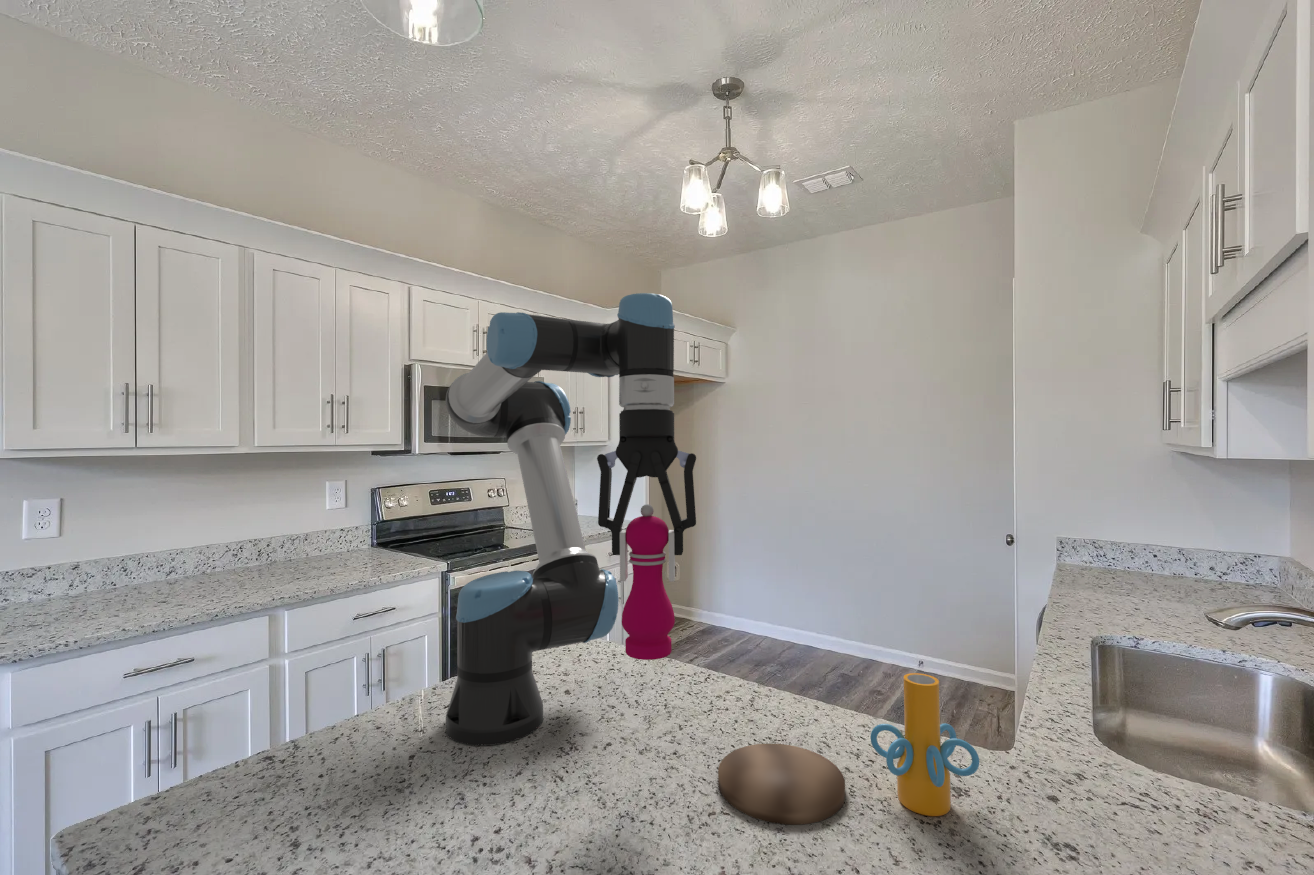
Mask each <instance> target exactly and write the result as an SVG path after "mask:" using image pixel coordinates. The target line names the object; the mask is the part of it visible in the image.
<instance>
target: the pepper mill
mask: <svg viewBox="0 0 1314 875" xmlns="http://www.w3.org/2000/svg"><path fill="white" fill-rule="evenodd" d="M654 512H655V510H654V507H653V506H652V505H650V504H643V505H642V506H641V507H640V514H641V516H638V517H635V518H634V519H632V520H631V521H630V522H629V523H628V524H627V527H626V529H625V530H626V542H627V544H628V548H630V550H631V551H630V552H629V553H628V555H629V556H630V557H629V560H628V562H629V563H630V564H631V565H632V585H631V589H630V591H629V595H628V597H627V599H626V601H625V602H624V606H623V610H622V614H621V625H622V628H623V630H625V632H626V634H627V635H628V636H627V637H626V638H625V643H624V645H625V654H626V655H627V656H628V657H630V658H632V659H636V660H642V661H653V660H660V659H663V658H666V657H668V656H670V654H671V653H672V650H673V649H672V648H673V647H672V638H671V637H670V635H669V634H670V632H672V630H673V628H674V627H675V622H676V618H675V612H674V609H673V608H674V607H673V605H672V602H671V600H670V598H669V596H668V593H667V591H666V589H665V584H664V582H663V581H664V579H663V567H664V566H663V565H664V563H666V562H667V559H666V555H667V552H666V551H664V549H665V547H666V546H667V545H668V544H669V530H670V529H669V527H668V525H667V523H666V522H665V521H664V520H663V519H661V518H660V517H658V516H653V514H654Z"/></svg>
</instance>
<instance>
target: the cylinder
mask: <svg viewBox="0 0 1314 875" xmlns="http://www.w3.org/2000/svg"><path fill="white" fill-rule="evenodd" d="M940 704H941V702H940V680H939V679H938V678H937V677H935V676H933V675H930V674H925V673H917V672H912V673H911V672H910V673H906V674H904V675H903V705H904V706H903V710H904V711H903V712H904V714H903V715H904V718H903V719H904V734H903V732H902V731H901V730H900V729H899V728H898V727H896V726H894V725H893V724H890V723H880V724H877V725H875V726H874V727H873V729H872V730H871V733H870V744H871V745H872V748H873V749H874V751H875V752H876V753H877V754H878V755H880V757H883V758H885V760H886V766H887V768H888V770H889V772H890V773H891V774H892V775H893V776H896V780H897V781H896V783H897V784H896V786H897V787H896V788H897V790H896V792H897V798H898V800H899V802H900V804H901V805H903V807H905V808H906V809H908V810H910V811H912V812H913V813H916V814H919V815H923V816H926V817H927V816H928V817H940V816H941V817H942V816H944V815H947V814H948V813H949V812H950V810H951V808H952V798H951V797H952V795H951V794H952V792H951V791H952V790H951V773H952V774H954V775H956V776H960V777H970V776H972V775H973V774H976V773H977V771H978V769H979V767H980V757H979V754H978V752H977V750H976V749H975V747H974V746H973V745H971V744H970V743H969V742H968V741H965V740H964V739H961V738H957V733H956V730H955V728H954V727H953V726H952V725H951V724H949V723H945V722H944V723H941V711H940V710H941V707H940ZM883 731H886V732H887V731H888V732H891V733H892V734H894V735H895V736H896V739H894V740H893V741H892V742H891V744H890V745H889V747H888V750H887V751H886V750H885V749H883V748H882V747H881V746H880V744H879V742H878V735H879V734H880V732H883ZM945 731H947V732H948V736H949V739H947V740H945V741H943V742H942V741H941V735H942V733H944V732H945ZM941 742H942V744H941ZM956 746H957V747H960V748H963V749H964V750H966V751H967V752H968V753H969V755H970V757H971V763H970V765H969V766H967V767H966V768H961V767H957V766H954V765H953V764H952V763H951V762H950V761H949V759H948V758H949V757H950V756H952V754H953V753H954V751H955V749H956ZM896 759H898V761H897V763H896V767H895V764H894V760H896ZM950 772H951V773H950Z"/></svg>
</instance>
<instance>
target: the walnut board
mask: <svg viewBox="0 0 1314 875" xmlns="http://www.w3.org/2000/svg"><path fill="white" fill-rule="evenodd" d="M717 769H718V771H717V776H718V777H717V783H718V789H719V791H720V794H721V795H722V797H723V798H724V799H725V800H726V802H727V803H728V804H730V805H731V807H733V808H735V810H738V811H739V812H741V813H743V814H745V815H746V816H748V817H751V818H753V819H757V820H759V821H763V822H767V823H772V824H778V825H790V826H792V825H793V826H794V825H795V826H798V825H800V826H801V825H810V824H815V823H818V822H823V821H825V820H827V819H829V818H831V817H833V816H834V815H835V814H837V813H838V812H839V811H840V810H841V809H842V808H843V807H844V804H845V802H846V781H845V778H844V777H845V776H844V775H843V773H842V771H841V770H840V768H838V766H837V765H836V764H835V763H833V762H832V761H831V760H830V759H828V758H826V757H824V756H823V755H821V754H819V753H817V752H814V751H813V750H809V749H806V748H803V747H800V746H796V745H789V744H783V743H782V744H781V743H756V744H749V745H746V746H743V747H740V748H737V749H734V750H733V751H731V752H729V753H728V754H727V755H725V756H724V757H723V759H721V761H720V763H719V765H718V768H717Z"/></svg>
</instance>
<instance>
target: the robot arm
mask: <svg viewBox="0 0 1314 875" xmlns="http://www.w3.org/2000/svg"><path fill="white" fill-rule="evenodd" d="M617 318H618V319H617V320H615V321H613V322H611V323H604V322H603V323H601V322H594V321H593V322H592V321H584V320H577V319H570V318H568V319H567V318H560V317H551V316H544V315H537V314H529V313H525V312H519V311H518V312H507V311H506V312H501V311H500V312H497V313H495V314H494V315H493V316H492V317H491V319H490V321H489V326H488V328H487V333H486V353H485V354H484V355H483V356H482V357H481V359H479V361H478V362H477V363H476V364H475V365H474V367H472V369H471V370H470V371H469V372H467V373H466V372H465V373H463V374H461V375H460V376H458V377H457V378H455V380H453V382H452V383H451V384H450V386H449V387H448V389H447V391H446V393H445V394H446V395H445V406H446V412H447V413H448V415H449V418H451V419H452V421H453V423H454V424H456V425H457V426H458V427H460V429H462V430H464V431H466V432H468V433H470V434H472V435H475V436H479V437H485V438H506V444H507V447H508V449H509V450H510V451H511V452H512V453H514V454H516V455H517V459H518V464H519V468H520V472H521V478H522V482H523V483H522V484H523V488H524V492H525V498H526V503H527V508H528V513H529V518H530V519H529V520H530V524H531V528H532V534H533V537H534V542H535V548H536V552H537V557H538V558H537V559H538V562H539V563H538V565H537V566H536V567H535V569H534V570H533V572H532V573H530V572H528V571H525V570H510V571H501V572H500V571H499V572H495V573H491V574H487V575H484V576H483V575H482V576H480V577H477V578H475V579H473V580H471V581H469V582H467V583H466V584H464V586H462V587H461V589H460V590H459V593H458V596H457V605H456V606H457V609H456V615H455V619H456V621H457V622H456V623H457V628H456V630H457V631H456V632H457V633H456V635H457V637H456V638H457V640H456V642H457V647H456V648H457V654H456V656H457V658H456V659H457V660H456V661H457V664H456V665H457V674H456V675H457V678H456V683H455V685H454V689H453V691H452V695H451V696H450V697H451V698H450V701H449V703H448V704H449V705H448V706H447V709H446V710H447V711H446V713H445V714H446V715H445V733H446V734H445V735H446V736H447V737H448V738H449V739H451V740H452V741H454V742H456V743H459V744H463V745H469V746H491V745H493V746H494V745H499V744H504V743H509V742H513V741H515V740H519V739H521V738H523V737H526V736H528V735H529V734H531V733H533V732H534V731H536V730H537V729H538V728H539V727H541V725H542V724H543V720H544V704H543V699H542V697H541V693H540V691H539V688H538V684H537V682H536V678H535V676H534V672H533V653H534V652H538V651H543V650H549V649H554V648H561V647H564V646H570V645H575V644H579V643H583V644H586V643H589V642H590V641H594V640H598V639H602V638H604V637H606V636H608V635H609V634H610V632H611V631H612V629H613V628H614V626H615V624H616V621H617V616H618V612H619V611H618V610H619V589H618V584H617V581H616V580H617V579H616V578H615V576H614V575H613V574H612V572H611V571H610V570H608V569H604V568H602V569H600V567H599V563H598V560H597V557H596V555H594V554H593V553H590V552H589V551H587V549H586V545H585V543H584V541H585V540H584V537H583V533H582V530H581V524H580V522H579V521H580V520H579V518H578V517H579V516H578V513H577V508H576V504H575V500H574V496H573V492H572V489H571V488H572V487H571V485H570V480H569V477H568V472H567V469H566V468H567V467H566V464H565V460H564V455H563V451H562V447H561V445H562V443H564V441H565V438H566V435H567V434H568V432H569V430H570V428H571V421H572V417H571V415H570V414H571V412H572V411H571V406H570V402H569V398H568V397H567V394H566V392H565V391H564V389H563V388H562V387H560V386H559V385H558V384H555V383H552V382H545V381H541V380H537V381H534V382H533V381H530V380H531V379H532V378H534V377H535V376H536V375H537V374H539V373H540V372H541V371H554V372H570V373H582V374H583V373H584V374H589V375H590V376H592V377H595V378H613V377H615V376H618V378H619V381H618V382H619V383H618V385H619V386H618V389H619V390H618V392H619V393H618V394H619V397H618V399H619V400H618V405H619V406H620V407H621V408H623V409H622V410H621V411H620V413H619V416H618V417H619V423H618V424H619V429H618V430H619V431H618V432H619V441H618V445H617V446H616V448H615V450H614V451H611V452H608V453H601V454H598V455H597V458H596V461H597V463H598V467H599V470H600V478H599V479H600V480H599V481H600V482H599V497H598V498H599V500H598V513H597V514H598V518H597V524H598V526H599V527H601V528H605V529H608V530H609V531H610V532H611V552H612V555H613V556H619V582H626V581H627V579H628V576H629V572H628V571H629V569H628V568H629V566H628V562H629V560H628V555H629V553H628V552H629V551H628V550H629V549H628V548H629V545H628V544H627V542H626V529H623V525H624V522H625V518H626V515H627V512H628V509H629V505H630V501H631V498H632V494H633V492H634V488H635V484H636V481H637V479H638V478H644V477H650V478H657V480H658V484H659V486H660V489H661V491H662V494H663V498H664V501H665V504H666V508H667V511H668V514H669V517H670V520H671V524H672V528H673V529H668V530H669V541H668V582H672V583H673V582H675V580H676V556H682V555H683V552H684V532H685V531H686V530H687V529H690V528H693V527H695V526H696V525H697V517H696V515H697V513H696V501H695V486H694V472H693V471H694V469H695V465H696V461H697V455H695V453H688V452H686V451H681V450H679V448H678V447H677V444H676V442H675V413H674V411H673V410H671V408H672V407H673V406H674V405H675V377H674V372H675V366H674V365H675V358H674V357H675V354H674V353H675V326H676V325H675V323H674V314H673V303H672V301H671V299H669V298H668V296H667V297H666V296H664V295H662V294H657V293H653V292H652V293H650V292H639V293H637V292H636V293H631V294H627V295H625V296H623V297H622V298H621V299H620V301H619V304H618V312H617ZM676 458H678V460H679V466H680V467H681V468H683V479H684V480H683V482H684V483H683V484H684V498H685V509H686V511H685V512H686V517H685V518H683V519H682V516H681V514H680V510H679V508H678V505H677V502H676V501H677V500H676V498H675V494H674V492H673V488H672V486H671V481H670V479H669V475H668V472H667V471H668V470H669V468H670V466H671V465H672V464H673V462H674V461H675V460H676ZM617 459H618V460H619V462H621V464H622V465H623V467H624V468H625V469H626V471H627V472H626V475H625V479H624V483H623V486H622V488H621V489H622V490H621V493H620V497H619V500H618V503H617V506H616V510H615V512H614V517H613V518H611V516H610V515H611V514H610V513H611V497H612V477H613V475H612V474H613V472H612V470H613V469H612V468H614V467H615V466H616V460H617Z"/></svg>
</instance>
